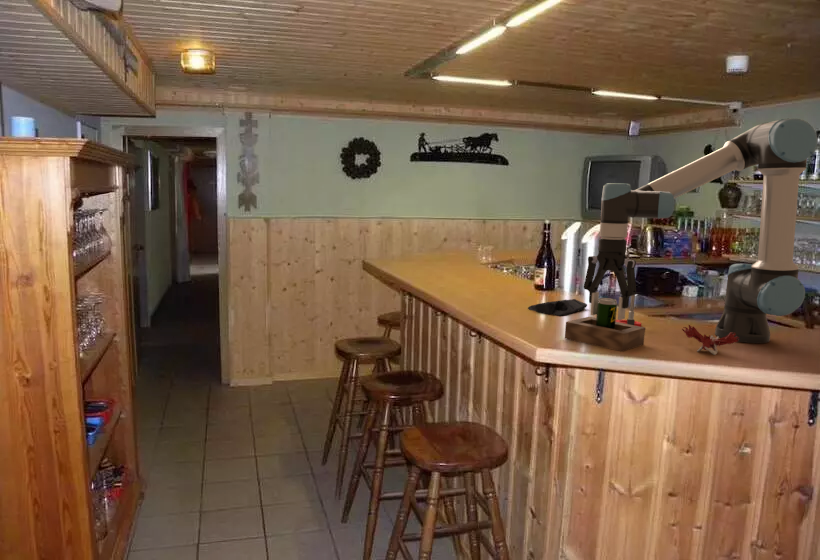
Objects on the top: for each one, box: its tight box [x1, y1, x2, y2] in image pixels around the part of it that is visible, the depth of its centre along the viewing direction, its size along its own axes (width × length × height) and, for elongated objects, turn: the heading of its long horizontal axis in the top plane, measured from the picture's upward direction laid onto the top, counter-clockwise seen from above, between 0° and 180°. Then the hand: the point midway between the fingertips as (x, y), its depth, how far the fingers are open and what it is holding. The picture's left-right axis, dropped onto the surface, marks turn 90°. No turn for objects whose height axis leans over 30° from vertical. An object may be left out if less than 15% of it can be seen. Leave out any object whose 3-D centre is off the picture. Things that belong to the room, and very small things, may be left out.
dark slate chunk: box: [527, 298, 588, 317], centre depth 230 cm, size 15×22×5 cm
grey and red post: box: [616, 295, 642, 327], centre depth 208 cm, size 8×13×9 cm
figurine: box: [681, 324, 739, 356], centre depth 176 cm, size 15×12×7 cm
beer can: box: [595, 297, 618, 329], centre depth 183 cm, size 5×5×12 cm
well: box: [564, 316, 646, 352], centre depth 183 cm, size 18×13×5 cm
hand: (607, 316), depth 183 cm, fingers open, 8 cm apart
